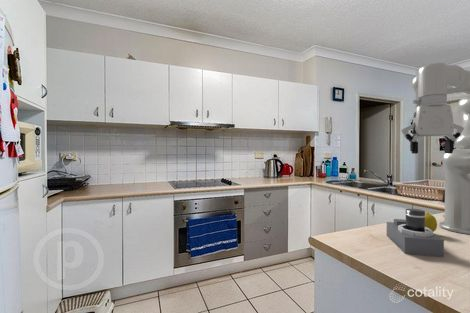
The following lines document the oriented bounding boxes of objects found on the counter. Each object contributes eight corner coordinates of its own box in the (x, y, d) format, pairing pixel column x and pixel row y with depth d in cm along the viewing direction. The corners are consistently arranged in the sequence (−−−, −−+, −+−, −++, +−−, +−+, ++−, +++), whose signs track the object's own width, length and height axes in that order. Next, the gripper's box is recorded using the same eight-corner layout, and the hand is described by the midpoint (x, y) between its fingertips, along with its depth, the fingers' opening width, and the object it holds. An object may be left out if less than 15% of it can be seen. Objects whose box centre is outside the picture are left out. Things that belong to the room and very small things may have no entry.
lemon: (414, 231, 93) (415, 210, 92) (431, 231, 91) (431, 211, 91) (423, 236, 87) (423, 214, 87) (440, 237, 86) (440, 215, 86)
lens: (403, 232, 77) (404, 210, 77) (407, 228, 81) (407, 207, 81) (423, 236, 74) (423, 213, 74) (426, 231, 77) (426, 210, 77)
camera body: (386, 235, 88) (386, 217, 88) (418, 237, 86) (418, 219, 86) (404, 253, 73) (404, 232, 73) (443, 256, 70) (444, 235, 70)
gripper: (406, 101, 79) (406, 153, 79) (471, 98, 74) (470, 153, 75) (397, 105, 86) (397, 153, 86) (456, 102, 81) (455, 153, 82)
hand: (431, 153), depth 81 cm, fingers open, 9 cm apart
